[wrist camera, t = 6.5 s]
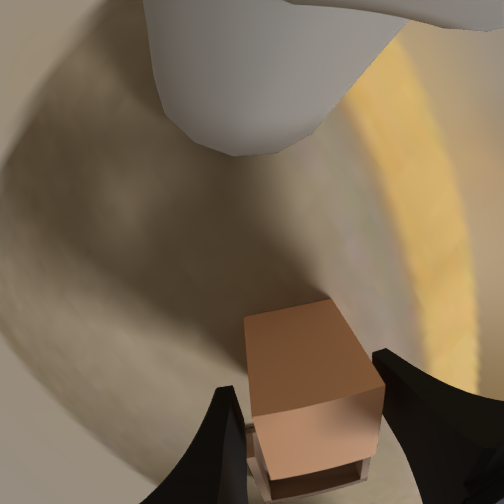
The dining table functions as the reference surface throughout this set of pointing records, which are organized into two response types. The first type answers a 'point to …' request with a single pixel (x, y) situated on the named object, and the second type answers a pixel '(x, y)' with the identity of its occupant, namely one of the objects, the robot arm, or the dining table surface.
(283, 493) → the box
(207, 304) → the dining table surface
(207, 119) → the salt shaker
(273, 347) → the block
